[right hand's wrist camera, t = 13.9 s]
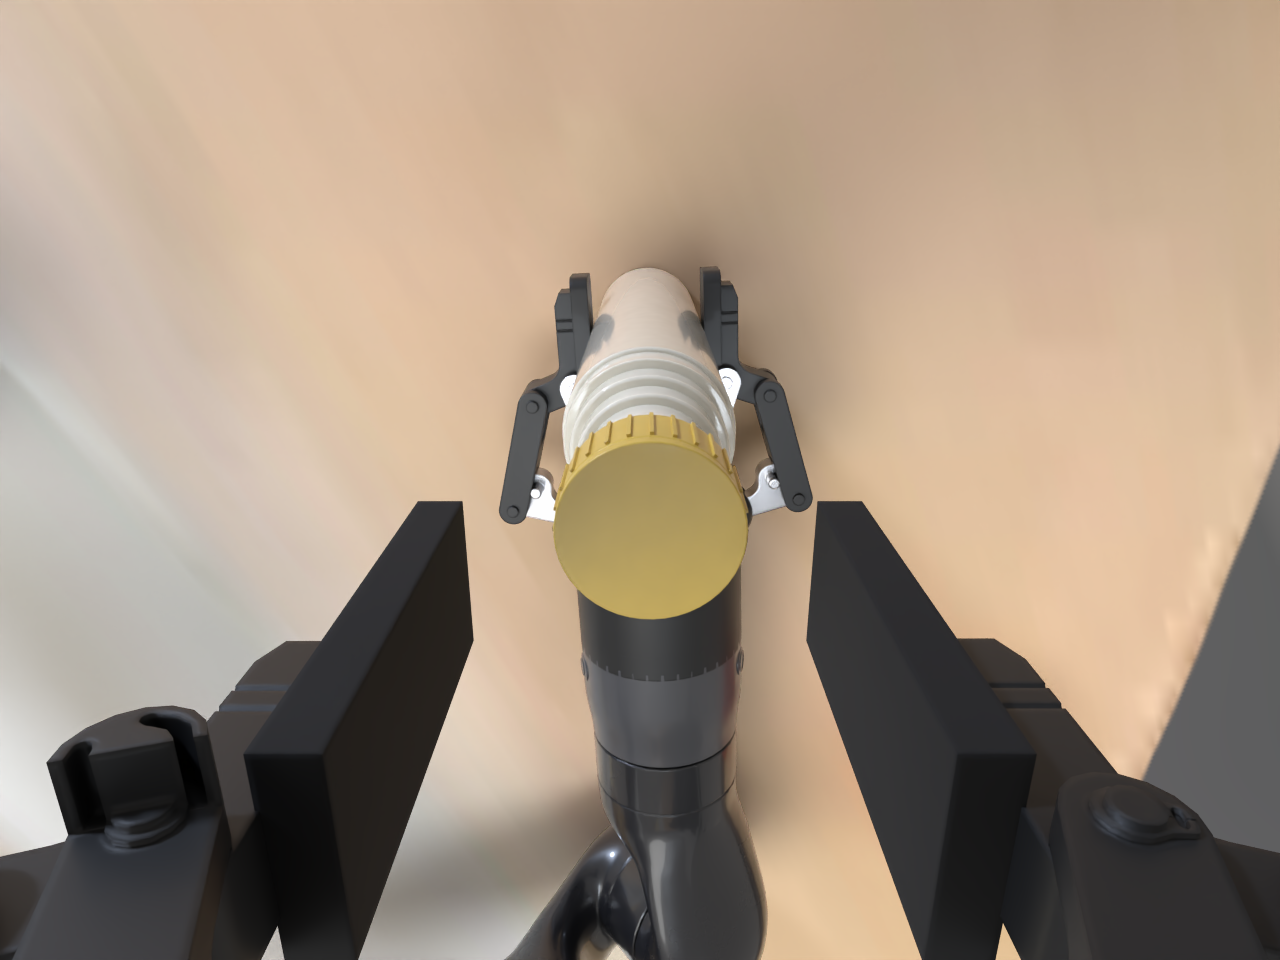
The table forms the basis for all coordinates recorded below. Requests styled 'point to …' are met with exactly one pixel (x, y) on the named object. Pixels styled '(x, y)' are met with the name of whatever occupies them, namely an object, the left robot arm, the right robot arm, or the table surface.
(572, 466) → the cap
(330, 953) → the right robot arm
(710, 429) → the bottle
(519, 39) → the table surface
